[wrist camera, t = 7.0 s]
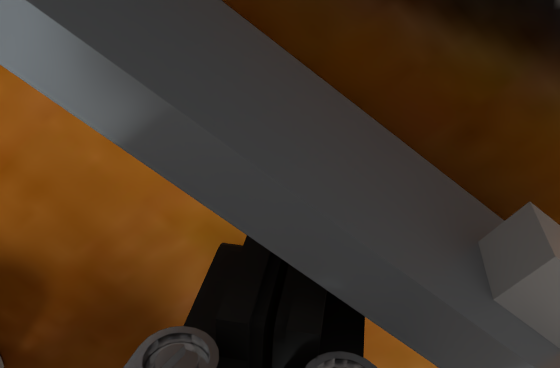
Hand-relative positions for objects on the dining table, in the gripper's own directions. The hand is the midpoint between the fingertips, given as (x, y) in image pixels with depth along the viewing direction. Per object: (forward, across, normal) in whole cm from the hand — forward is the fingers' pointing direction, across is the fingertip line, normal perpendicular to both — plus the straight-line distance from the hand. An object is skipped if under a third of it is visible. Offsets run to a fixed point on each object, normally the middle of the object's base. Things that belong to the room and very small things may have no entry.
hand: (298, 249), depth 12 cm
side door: (+1, +2, -5) cm, 6 cm away
